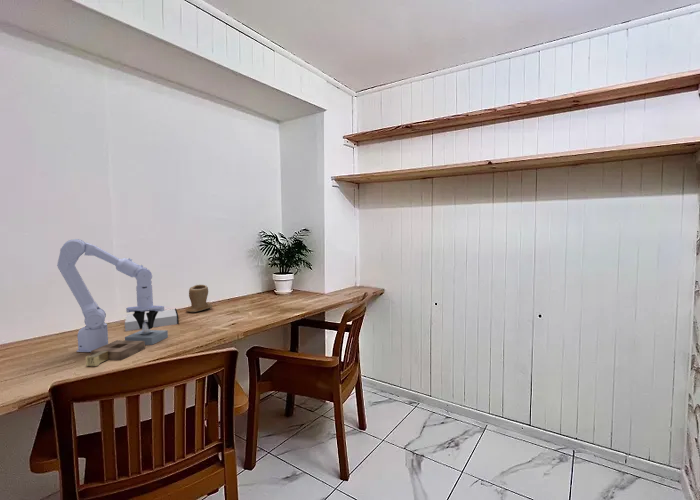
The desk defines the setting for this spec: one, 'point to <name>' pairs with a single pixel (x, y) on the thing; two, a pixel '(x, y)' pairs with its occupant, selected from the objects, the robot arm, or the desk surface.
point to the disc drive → (161, 320)
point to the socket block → (121, 349)
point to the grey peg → (145, 328)
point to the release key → (96, 358)
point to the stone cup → (198, 298)
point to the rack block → (148, 336)
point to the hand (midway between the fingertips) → (146, 328)
